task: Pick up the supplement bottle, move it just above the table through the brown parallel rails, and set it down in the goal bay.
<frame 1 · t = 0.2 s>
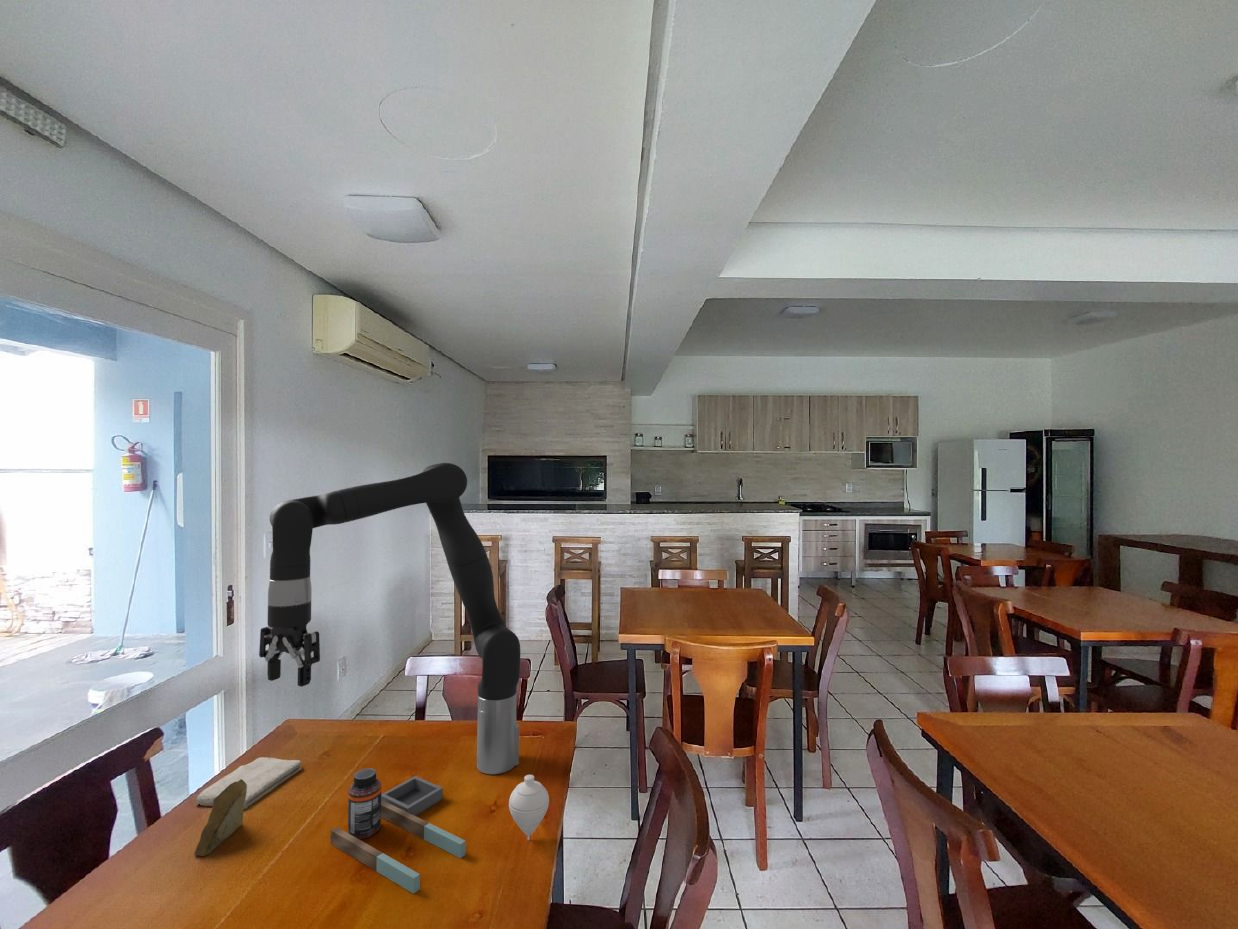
hand: (288, 682, 110), 29 cm above the table, tool pointing down, fingers open, 8 cm apart
brown parallel rails: (380, 839, 106), on the table
goal bay: (421, 862, 100), on the table
spinning top: (528, 841, 106), on the table
trap pit: (411, 803, 118), on the table
rock: (217, 839, 106), on the table
washcloth: (253, 788, 125), on the table
supplement bottle: (364, 832, 109), on the table
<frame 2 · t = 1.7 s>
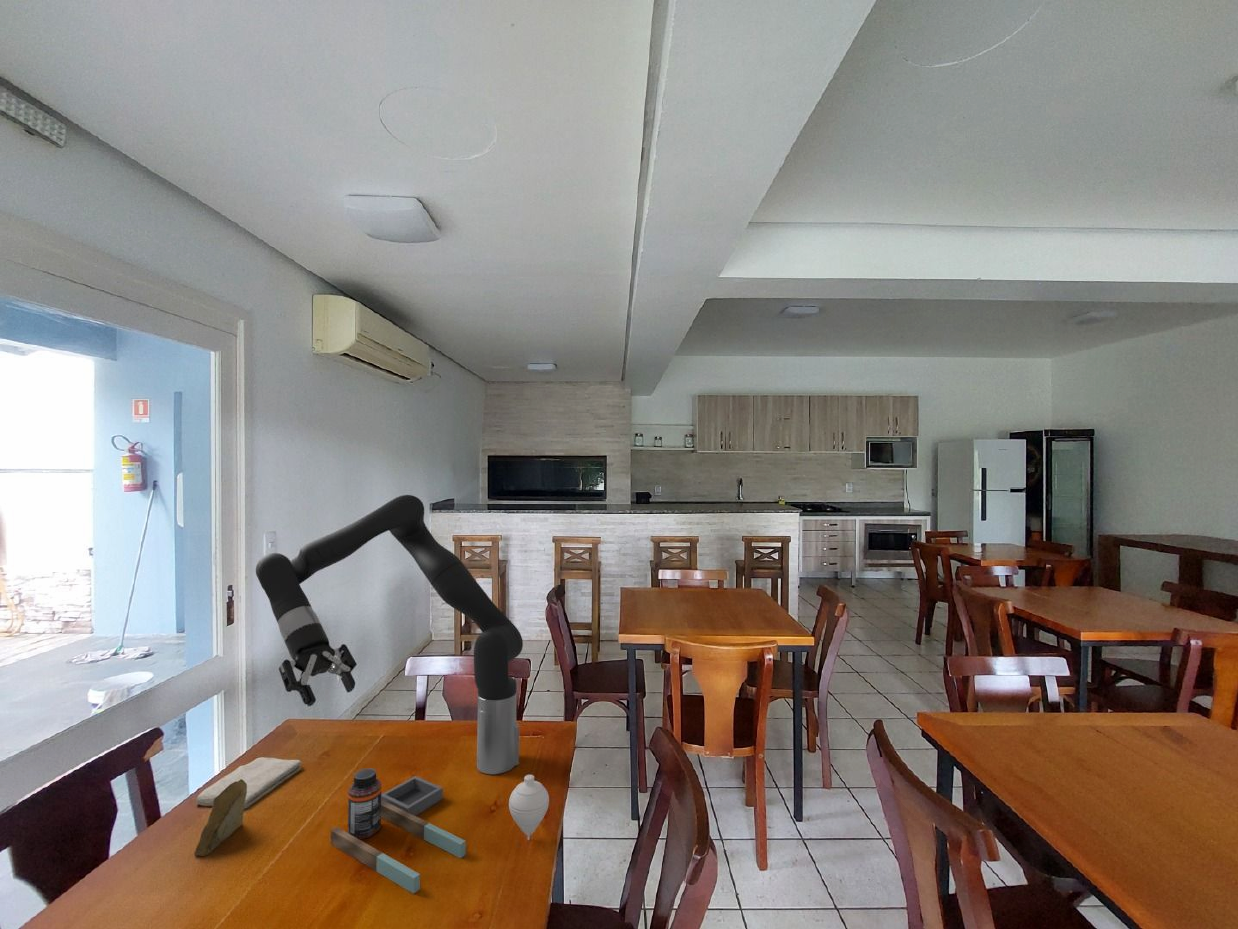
hand: (332, 696, 115), 24 cm above the table, tool tilted 45°, fingers open, 8 cm apart
nothing on the table moved.
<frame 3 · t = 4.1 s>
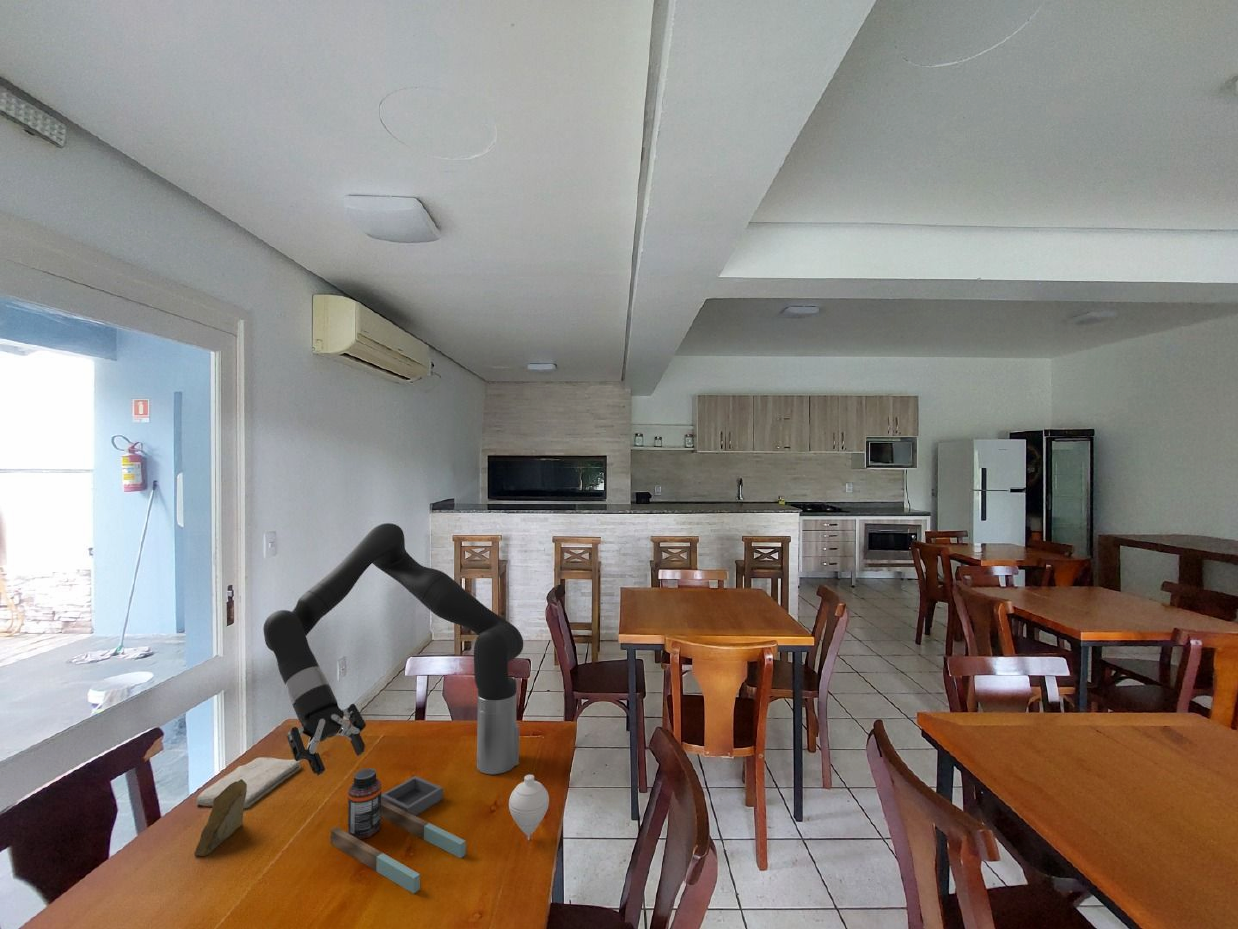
hand: (341, 763, 113), 11 cm above the table, tool tilted 45°, fingers open, 8 cm apart
nothing on the table moved.
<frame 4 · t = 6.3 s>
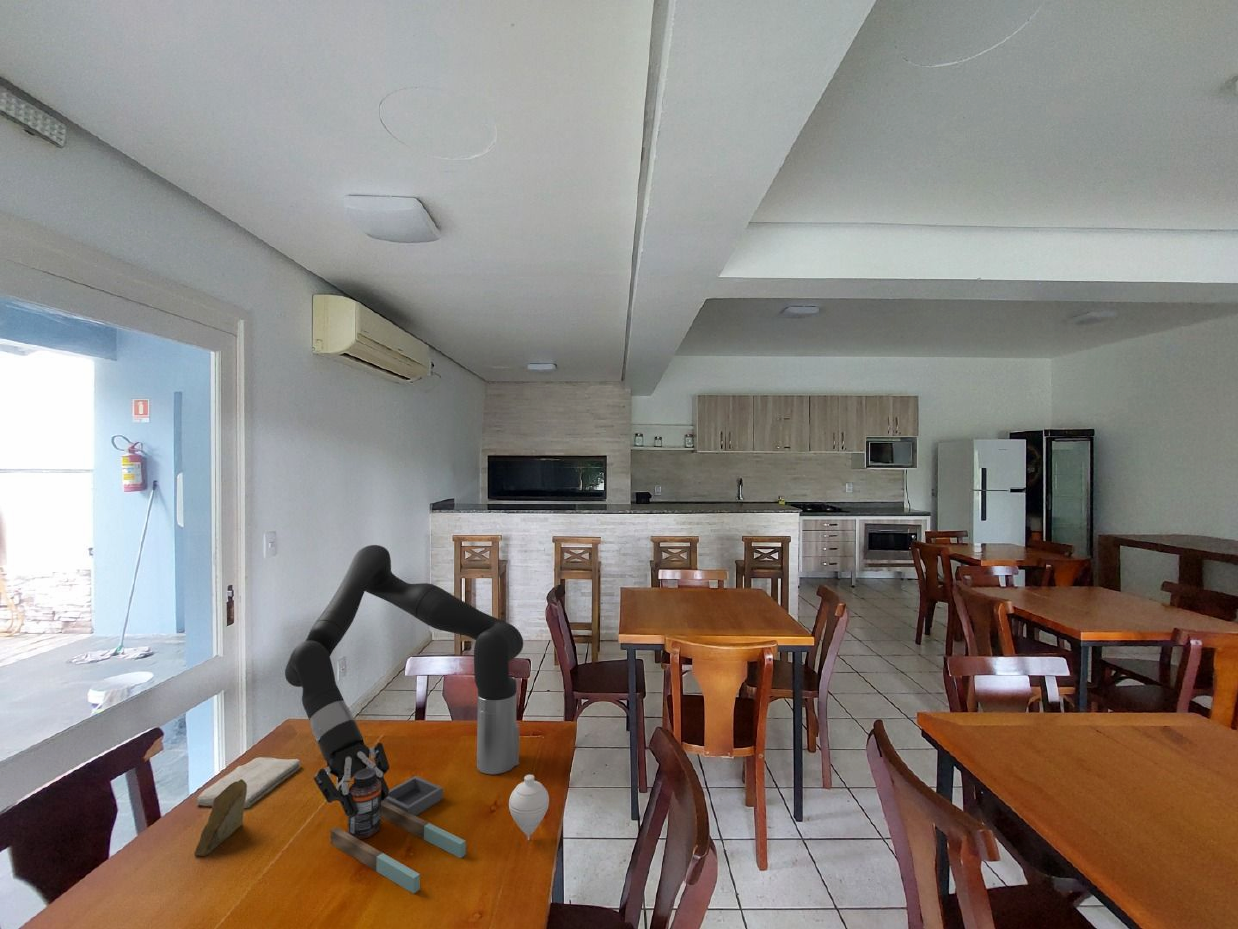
hand: (369, 806, 108), 5 cm above the table, tool tilted 45°, fingers closed on supplement bottle, 6 cm apart
supplement bottle: (364, 832, 109), on the table, touching gripper
everything else where it was.
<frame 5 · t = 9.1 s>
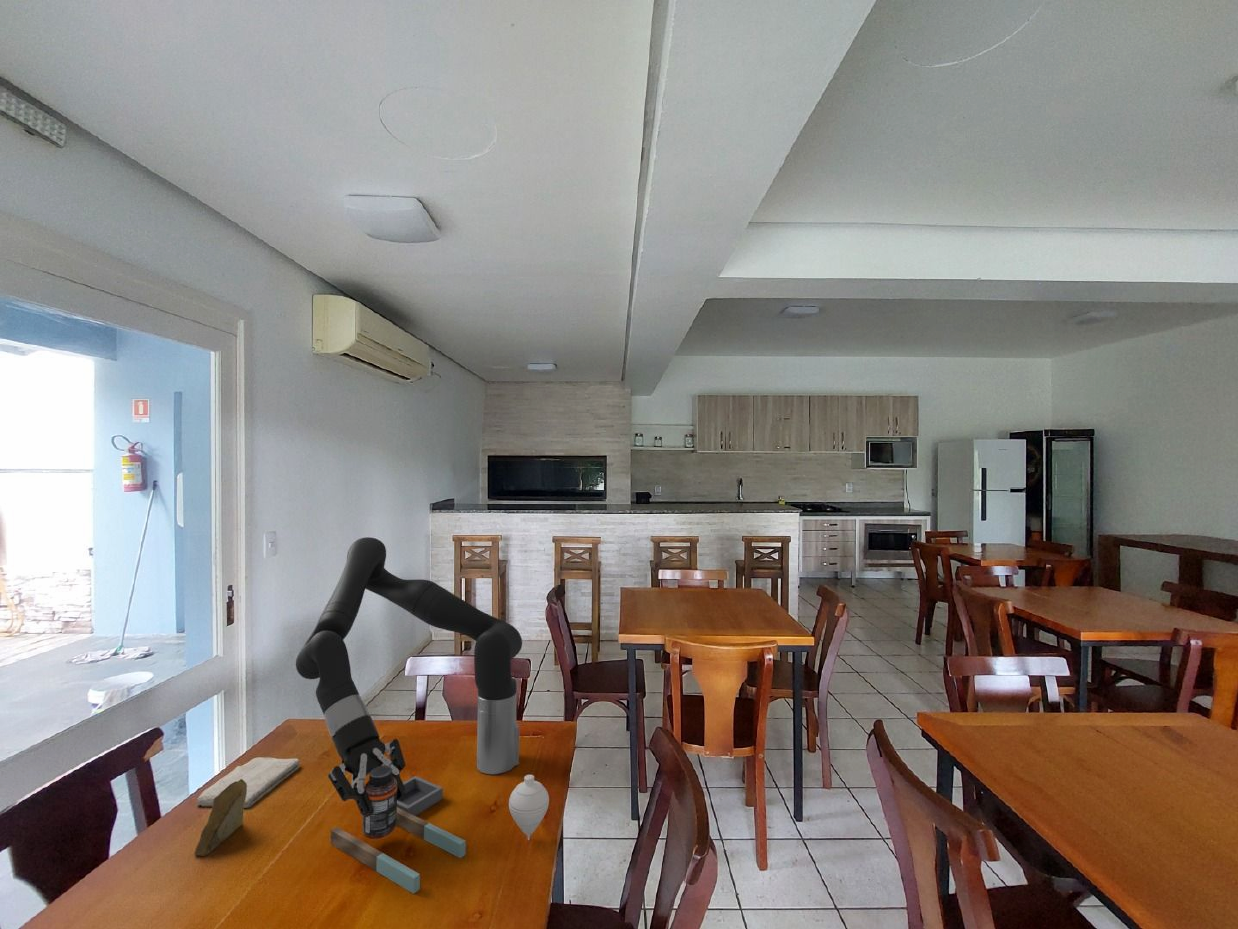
hand: (385, 805, 104), 8 cm above the table, tool tilted 45°, fingers closed on supplement bottle, 6 cm apart
supplement bottle: (379, 831, 105), point 2 cm above the table, touching gripper
everything else where it was.
when the fingers open (6 cm above the table, at t = 12.1 s): supplement bottle stays where it is, on the table.
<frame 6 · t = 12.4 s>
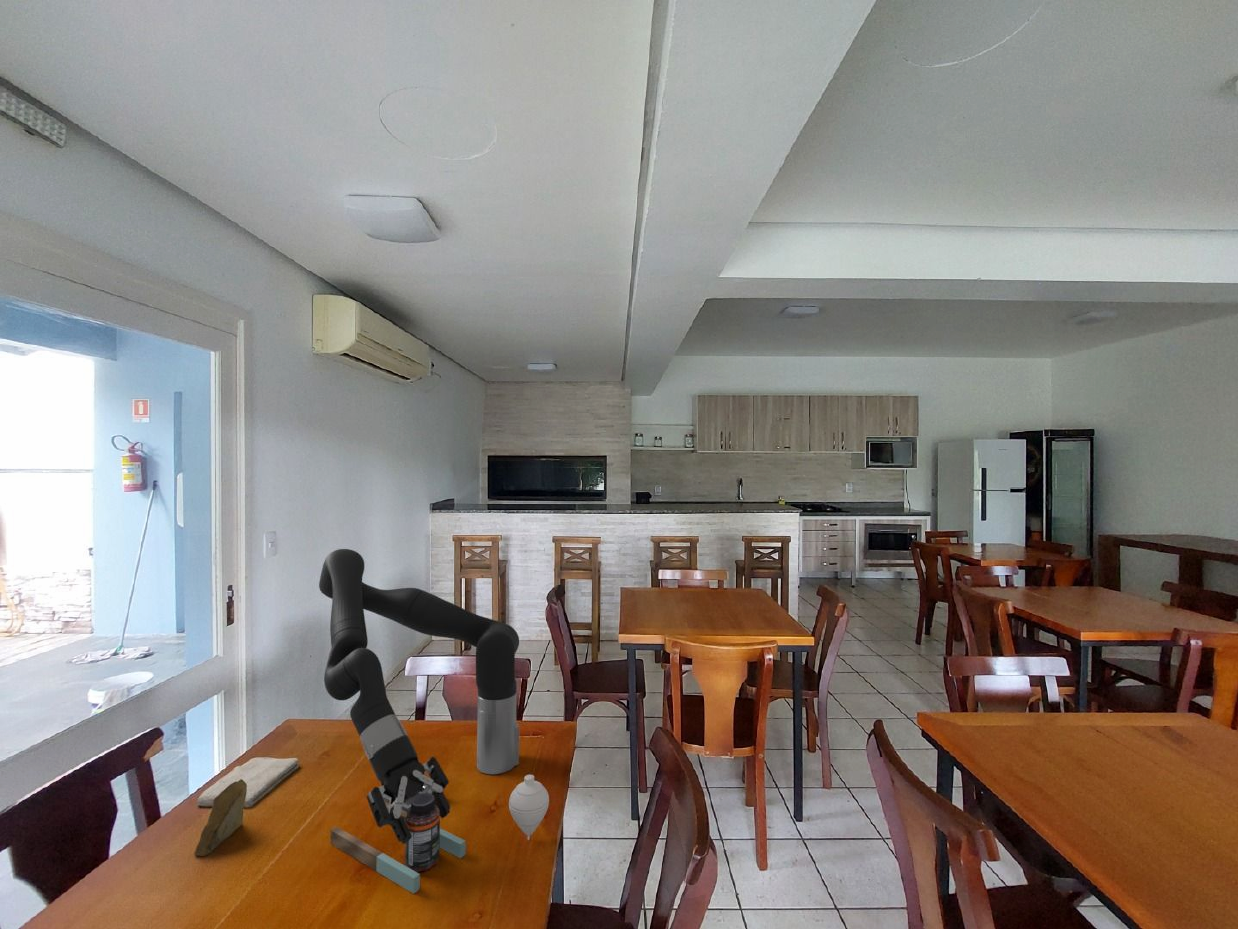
hand: (427, 828, 99), 7 cm above the table, tool tilted 45°, fingers open, 8 cm apart
supplement bottle: (422, 863, 100), on the table
everything else where it was.
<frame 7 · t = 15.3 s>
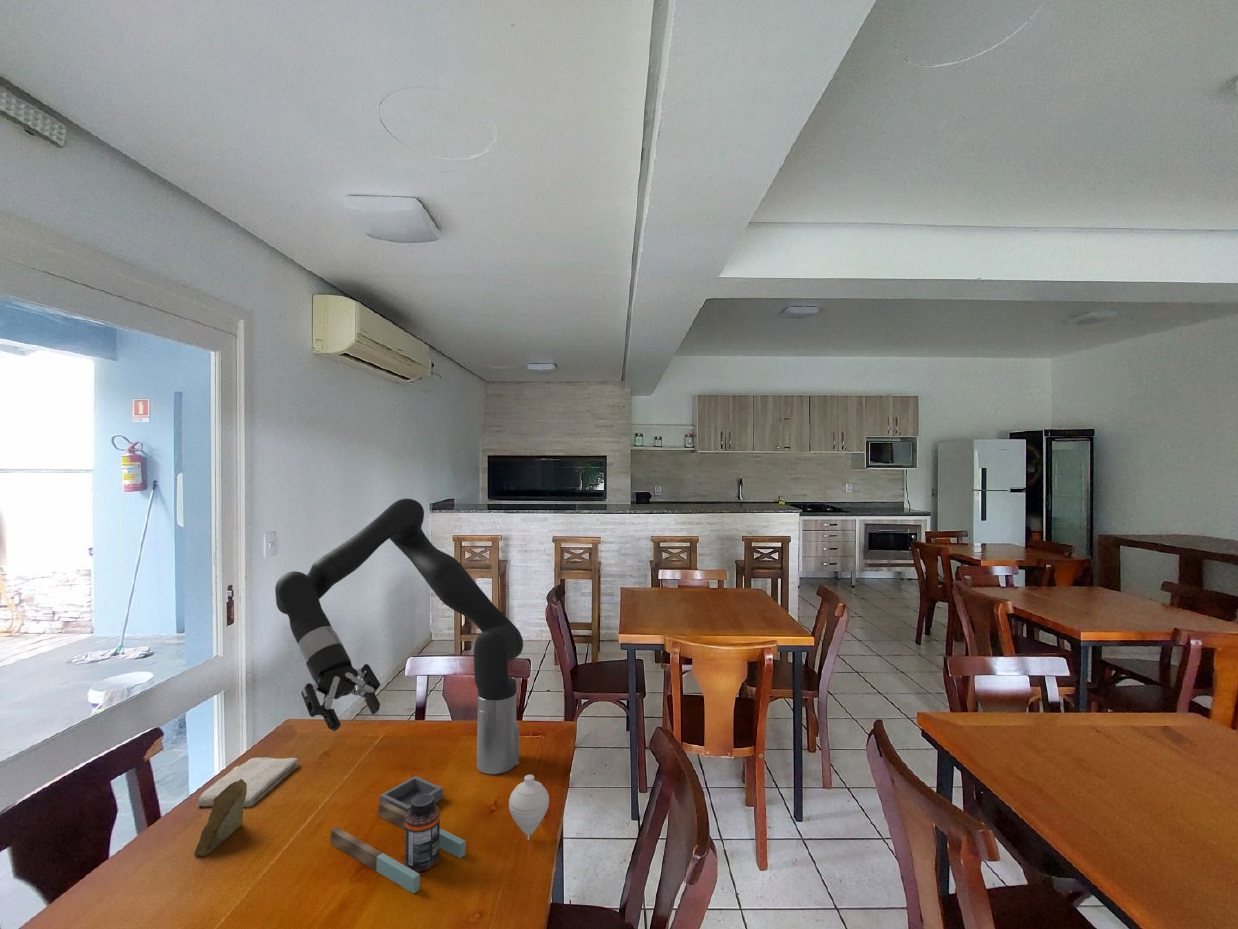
hand: (357, 720, 111), 21 cm above the table, tool tilted 45°, fingers open, 8 cm apart
nothing on the table moved.
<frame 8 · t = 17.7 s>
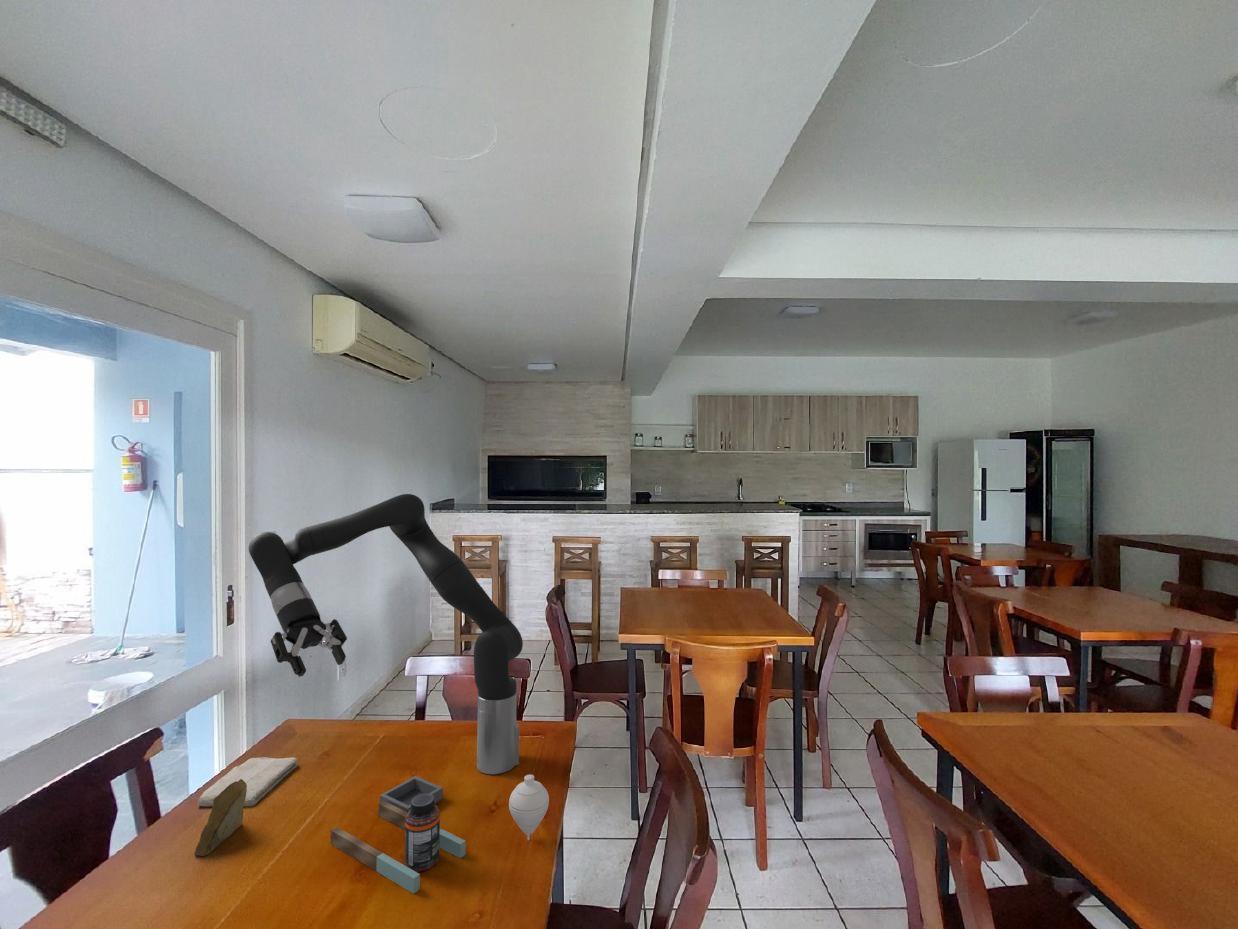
hand: (322, 668, 118), 29 cm above the table, tool tilted 45°, fingers open, 8 cm apart
nothing on the table moved.
at the end: supplement bottle 0.2 cm from the goal bay (horizontally); supplement bottle tilted 0°; supplement bottle touching table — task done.
